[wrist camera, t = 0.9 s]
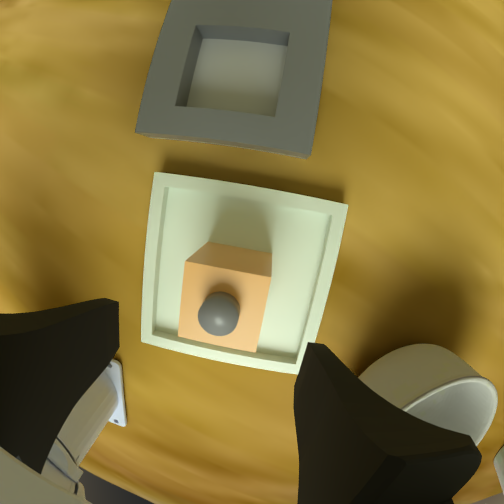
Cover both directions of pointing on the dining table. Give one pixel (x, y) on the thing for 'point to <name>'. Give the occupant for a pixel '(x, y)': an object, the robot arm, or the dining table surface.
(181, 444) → the dining table surface
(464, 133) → the dining table surface
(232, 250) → the orange plug
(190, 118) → the grey socket board
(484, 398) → the teacup
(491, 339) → the dining table surface
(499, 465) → the mug
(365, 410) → the robot arm
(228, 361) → the tray
